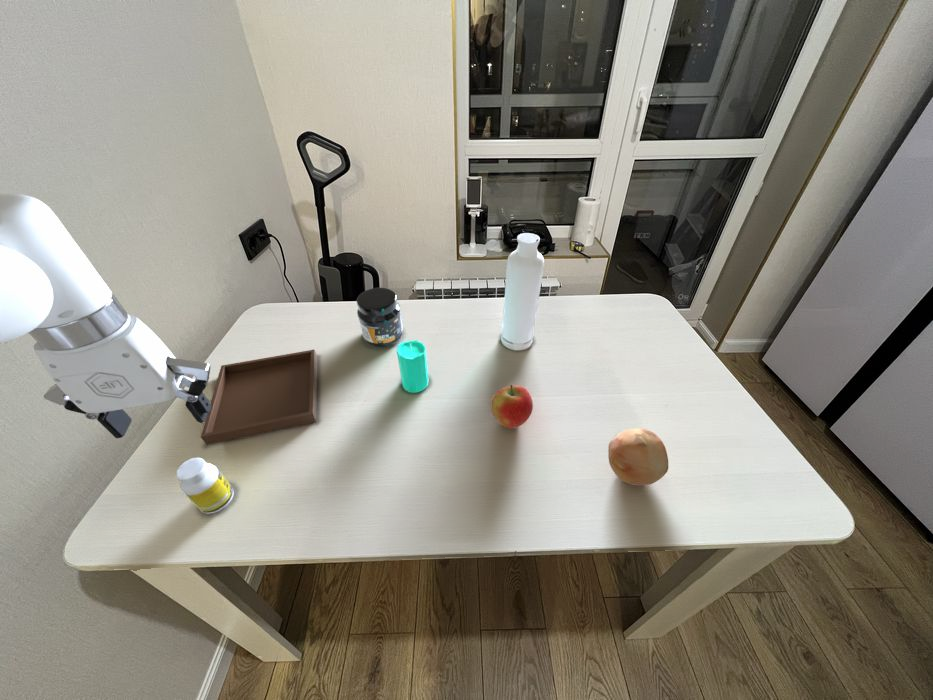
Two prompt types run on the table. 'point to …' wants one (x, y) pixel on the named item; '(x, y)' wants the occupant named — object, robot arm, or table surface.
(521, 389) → the apple
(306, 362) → the tray
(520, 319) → the bottle
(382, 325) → the supplement container
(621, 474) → the onion
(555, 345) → the table surface
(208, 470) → the supplement bottle
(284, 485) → the table surface
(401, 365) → the candle
